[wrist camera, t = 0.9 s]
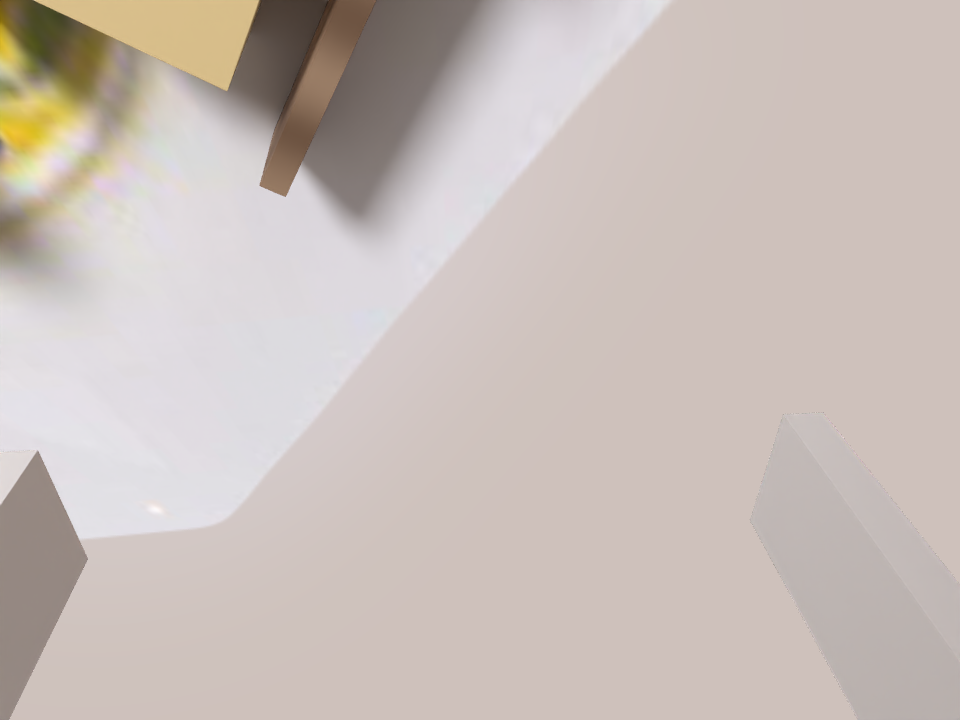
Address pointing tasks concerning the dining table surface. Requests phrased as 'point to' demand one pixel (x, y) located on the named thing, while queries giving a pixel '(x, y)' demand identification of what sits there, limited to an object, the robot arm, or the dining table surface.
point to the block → (174, 30)
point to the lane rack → (313, 90)
